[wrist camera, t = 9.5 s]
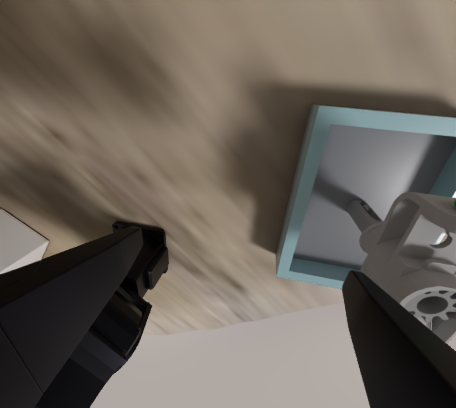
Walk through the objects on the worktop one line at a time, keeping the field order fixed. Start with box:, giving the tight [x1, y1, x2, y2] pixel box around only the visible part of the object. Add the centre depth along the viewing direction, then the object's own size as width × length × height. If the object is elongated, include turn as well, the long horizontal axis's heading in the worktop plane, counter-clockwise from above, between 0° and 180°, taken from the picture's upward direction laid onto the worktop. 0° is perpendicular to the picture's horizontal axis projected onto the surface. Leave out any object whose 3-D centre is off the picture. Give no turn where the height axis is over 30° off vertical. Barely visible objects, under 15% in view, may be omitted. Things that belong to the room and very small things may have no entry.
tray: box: [276, 104, 456, 289], centre depth 18 cm, size 11×15×3 cm
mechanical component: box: [347, 192, 456, 344], centre depth 14 cm, size 3×10×10 cm, turn 176°
